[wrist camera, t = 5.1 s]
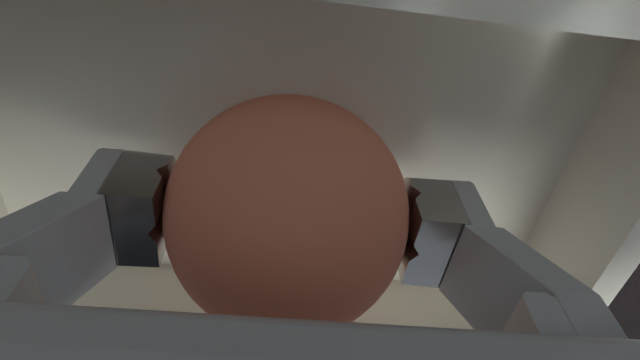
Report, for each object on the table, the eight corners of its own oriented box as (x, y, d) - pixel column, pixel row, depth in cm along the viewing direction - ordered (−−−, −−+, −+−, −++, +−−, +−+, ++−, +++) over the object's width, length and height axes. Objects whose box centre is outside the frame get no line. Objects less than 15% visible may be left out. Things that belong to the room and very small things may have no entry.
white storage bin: (676, -29, 10) (818, 17, 7) (508, 289, 16) (552, 383, 13) (-125, -142, 9) (-333, -138, 6) (13, 255, 15) (-57, 353, 12)
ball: (411, 69, 11) (476, 207, 7) (369, 232, 13) (397, 399, 9) (186, 43, 10) (106, 176, 6) (193, 219, 13) (142, 388, 9)
